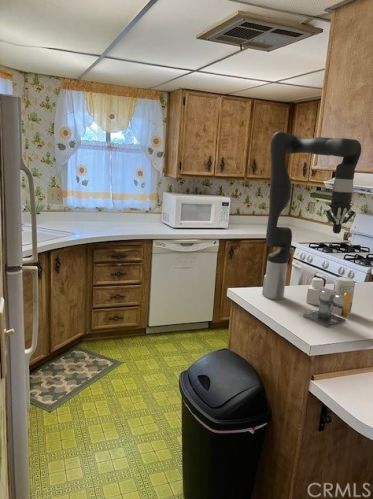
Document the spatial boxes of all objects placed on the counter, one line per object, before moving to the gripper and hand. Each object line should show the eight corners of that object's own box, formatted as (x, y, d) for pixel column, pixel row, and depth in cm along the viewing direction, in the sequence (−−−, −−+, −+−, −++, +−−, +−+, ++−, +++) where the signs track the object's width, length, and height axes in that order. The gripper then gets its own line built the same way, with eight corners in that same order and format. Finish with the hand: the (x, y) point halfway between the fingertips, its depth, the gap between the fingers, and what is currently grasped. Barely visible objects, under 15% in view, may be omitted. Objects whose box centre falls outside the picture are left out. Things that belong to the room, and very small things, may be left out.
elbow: (314, 307, 167) (317, 285, 165) (324, 305, 170) (327, 283, 168) (342, 319, 156) (345, 295, 154) (352, 316, 159) (356, 293, 157)
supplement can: (327, 311, 177) (331, 278, 173) (335, 307, 182) (340, 275, 179) (345, 317, 171) (350, 283, 168) (353, 312, 177) (358, 279, 173)
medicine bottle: (310, 298, 192) (313, 274, 189) (325, 302, 188) (328, 277, 186) (306, 303, 186) (309, 277, 183) (321, 306, 182) (325, 281, 180)
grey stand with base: (302, 316, 168) (305, 299, 167) (321, 312, 175) (323, 295, 174) (327, 327, 159) (329, 309, 157) (345, 321, 166) (348, 304, 164)
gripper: (332, 190, 157) (326, 234, 161) (362, 192, 160) (356, 235, 164) (322, 189, 165) (316, 231, 168) (352, 190, 167) (346, 232, 171)
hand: (336, 233), depth 166 cm, fingers closed
